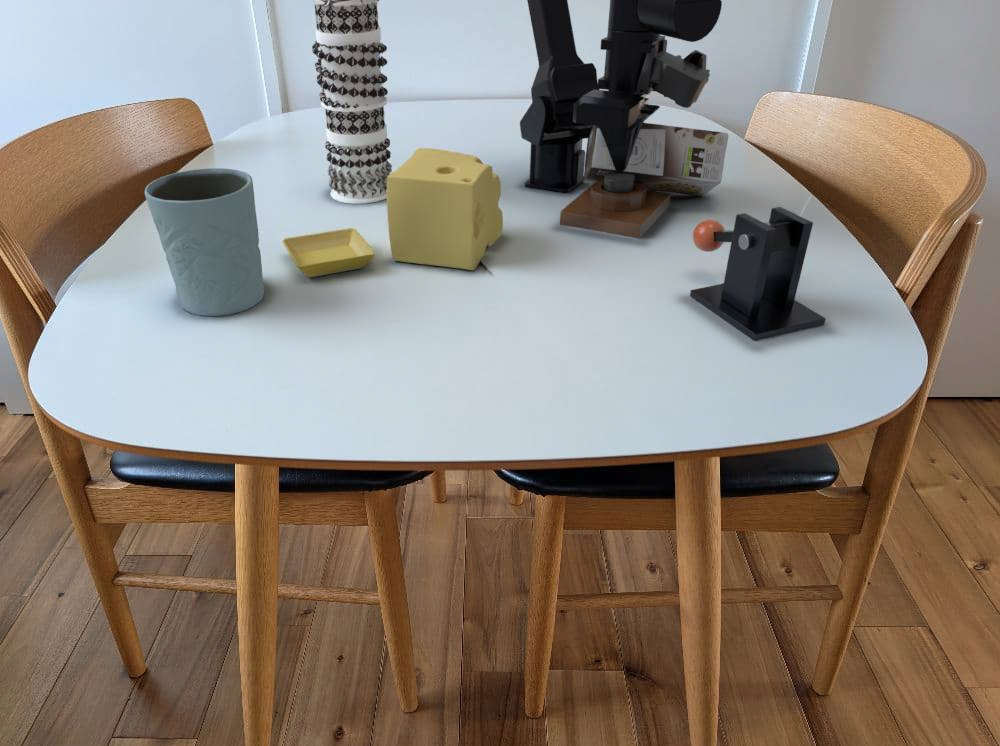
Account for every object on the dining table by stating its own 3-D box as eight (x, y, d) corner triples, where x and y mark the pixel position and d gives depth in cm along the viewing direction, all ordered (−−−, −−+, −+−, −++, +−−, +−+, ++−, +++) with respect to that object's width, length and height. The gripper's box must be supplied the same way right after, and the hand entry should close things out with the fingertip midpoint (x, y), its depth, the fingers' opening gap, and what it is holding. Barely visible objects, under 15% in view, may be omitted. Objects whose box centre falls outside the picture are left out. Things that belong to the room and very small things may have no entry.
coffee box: (729, 130, 97) (597, 114, 97) (722, 184, 97) (589, 168, 98) (708, 148, 106) (587, 134, 106) (701, 198, 106) (580, 183, 107)
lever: (687, 253, 83) (685, 222, 82) (713, 248, 84) (711, 217, 83) (767, 257, 72) (766, 221, 71) (795, 252, 73) (794, 216, 72)
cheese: (503, 238, 95) (504, 153, 89) (474, 275, 87) (474, 184, 81) (421, 228, 98) (417, 146, 92) (386, 263, 90) (379, 174, 84)
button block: (559, 228, 97) (561, 196, 95) (594, 198, 106) (596, 168, 104) (639, 242, 93) (643, 209, 91) (668, 210, 102) (673, 179, 100)
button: (598, 193, 97) (600, 178, 96) (609, 184, 100) (610, 170, 99) (627, 197, 96) (629, 183, 95) (637, 188, 98) (638, 174, 97)
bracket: (688, 300, 81) (704, 206, 75) (754, 287, 83) (773, 195, 78) (753, 346, 73) (775, 244, 68) (823, 329, 75) (849, 230, 70)
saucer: (283, 255, 92) (280, 238, 91) (356, 243, 94) (354, 226, 93) (299, 285, 85) (297, 267, 84) (377, 271, 88) (376, 253, 87)
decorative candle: (330, 207, 105) (307, -7, 91) (325, 184, 112) (303, -17, 98) (399, 201, 106) (387, -10, 92) (390, 179, 114) (377, -19, 100)
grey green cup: (219, 328, 77) (195, 208, 71) (149, 304, 82) (119, 189, 75) (291, 289, 84) (274, 176, 78) (222, 269, 89) (201, 160, 82)
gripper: (684, 47, 77) (663, 204, 86) (729, 19, 91) (707, 157, 100) (576, 39, 82) (567, 189, 91) (634, 14, 95) (621, 146, 104)
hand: (620, 170), depth 96 cm, fingers closed
